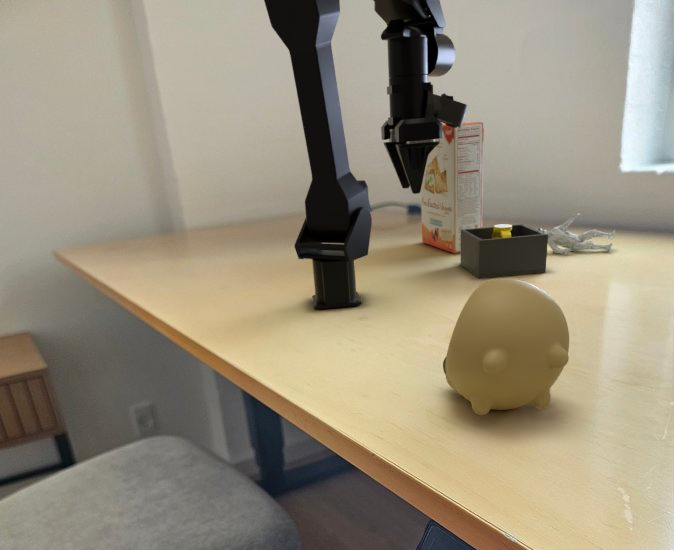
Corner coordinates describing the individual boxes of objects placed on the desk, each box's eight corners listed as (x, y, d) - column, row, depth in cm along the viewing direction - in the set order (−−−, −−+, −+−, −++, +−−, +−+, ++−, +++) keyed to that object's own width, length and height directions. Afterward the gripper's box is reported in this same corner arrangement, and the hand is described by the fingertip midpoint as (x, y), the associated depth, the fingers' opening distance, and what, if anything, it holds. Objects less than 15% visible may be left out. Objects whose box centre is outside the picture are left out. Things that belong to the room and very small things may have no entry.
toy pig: (547, 433, 58) (521, 331, 62) (605, 367, 47) (569, 248, 51) (439, 443, 58) (420, 338, 61) (472, 378, 46) (445, 256, 50)
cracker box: (420, 243, 128) (417, 124, 119) (448, 239, 129) (448, 121, 120) (452, 254, 116) (452, 122, 107) (482, 250, 117) (485, 119, 108)
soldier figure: (608, 261, 106) (536, 240, 107) (597, 276, 111) (528, 256, 112) (619, 221, 108) (548, 200, 109) (607, 238, 113) (540, 218, 114)
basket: (545, 272, 98) (548, 234, 96) (478, 278, 98) (479, 240, 96) (521, 258, 108) (523, 224, 106) (460, 264, 108) (460, 229, 106)
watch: (486, 262, 106) (487, 223, 103) (503, 260, 106) (504, 221, 103) (498, 269, 100) (499, 228, 98) (516, 267, 100) (517, 227, 98)
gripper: (479, 67, 88) (477, 191, 95) (448, 76, 104) (448, 181, 111) (397, 74, 87) (401, 198, 94) (378, 82, 104) (383, 187, 111)
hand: (410, 190), depth 103 cm, fingers open, 9 cm apart
